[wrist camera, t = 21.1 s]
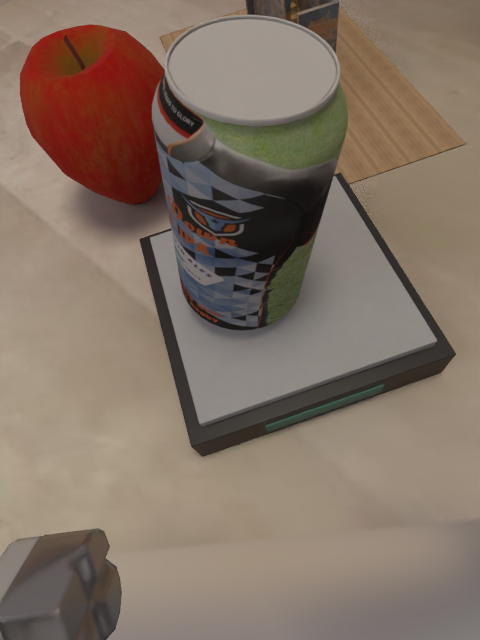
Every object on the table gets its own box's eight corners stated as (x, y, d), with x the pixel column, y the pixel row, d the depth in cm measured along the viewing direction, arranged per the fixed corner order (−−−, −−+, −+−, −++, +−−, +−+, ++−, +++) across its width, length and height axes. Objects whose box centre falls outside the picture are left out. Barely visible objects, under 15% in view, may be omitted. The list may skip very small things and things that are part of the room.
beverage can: (182, 255, 24) (87, 23, 13) (311, 227, 23) (319, -32, 13) (196, 356, 21) (86, 160, 10) (344, 324, 20) (390, 90, 10)
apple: (197, 144, 32) (154, -22, 23) (198, 229, 28) (146, 71, 19) (90, 160, 33) (6, 6, 24) (76, 246, 29) (-33, 101, 20)
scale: (442, 374, 22) (462, 350, 19) (202, 459, 21) (188, 446, 19) (337, 199, 28) (341, 163, 25) (151, 262, 28) (135, 232, 25)
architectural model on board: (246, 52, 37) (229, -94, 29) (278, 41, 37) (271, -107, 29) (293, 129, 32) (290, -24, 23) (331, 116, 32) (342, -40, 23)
